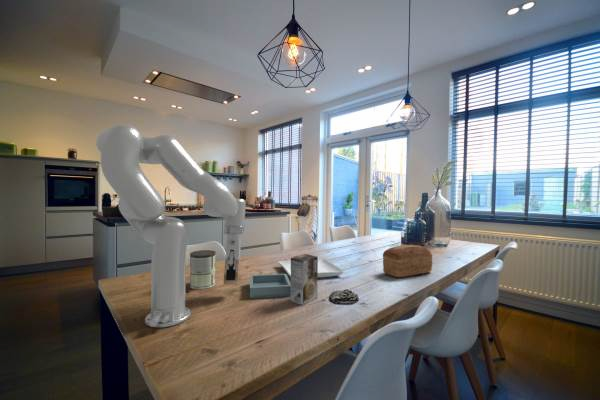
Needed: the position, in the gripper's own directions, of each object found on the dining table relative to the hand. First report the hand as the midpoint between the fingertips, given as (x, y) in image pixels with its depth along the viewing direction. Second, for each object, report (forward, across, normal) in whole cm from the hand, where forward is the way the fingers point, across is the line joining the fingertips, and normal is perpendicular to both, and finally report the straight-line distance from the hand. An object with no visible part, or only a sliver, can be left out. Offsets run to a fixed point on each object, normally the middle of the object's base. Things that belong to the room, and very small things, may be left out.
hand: (231, 277), depth 99 cm
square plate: (+5, +28, -37) cm, 47 cm away
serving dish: (+6, +5, -15) cm, 17 cm away
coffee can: (+8, +15, +12) cm, 21 cm away
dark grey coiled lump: (+6, -8, -42) cm, 44 cm away
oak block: (+2, 0, 0) cm, 2 cm away
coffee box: (+7, -7, -27) cm, 29 cm away
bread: (+3, +19, -87) cm, 89 cm away
